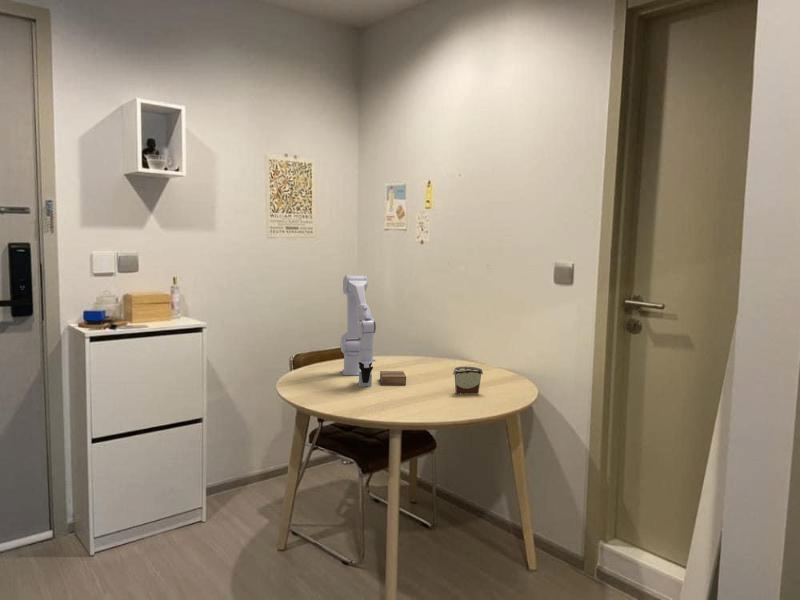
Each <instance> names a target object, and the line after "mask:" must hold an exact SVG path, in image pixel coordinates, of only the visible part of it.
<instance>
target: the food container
mask: <svg viewBox="0 0 800 600" xmlns="http://www.w3.org/2000/svg"><path fill="white" fill-rule="evenodd" d="M483 372H484V371H483V369H482V368H480V367H476V366H474V367H473V366H457V367H455V368H454V369H453V372H452V375H454V384H455V387H454V389H455V395H463V394H462V393H478V394H479V392H480V386H481V379H482V375H483V374H484V373H483ZM460 393H461V394H460Z"/></svg>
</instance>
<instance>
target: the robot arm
mask: <svg viewBox="0 0 800 600" xmlns="http://www.w3.org/2000/svg"><path fill="white" fill-rule="evenodd" d="M368 283H369V281H368V277H367V276H366V275H348V274H345V275H344V277H343V280H342V292H343V294H344V295H346V298H347V299H346V300H347V301H346V303H347V304H346V306H347V308H346V309H347V310H346V311H347V313H346V315H347V319H346V320H347V326H346V327H347V331H346V332H345V333H344V334H343V335H341V338H340V351H341V352H342V354H343V356H344V357H343V368H342V375H343V376H359V372H361V373H362V380H363V383H368V381H369V377H370V373H372V371H373V369H374V366H372V365H373V362H376V358H374V335H375V334H376V331H377V324H376V323H377V322H376V321H375V319H374V317H373V316H372V312H371V308H370V306H369V305H368V304H367V300H366V291H367V288H368V287H369V285H368Z"/></svg>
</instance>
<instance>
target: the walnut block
mask: <svg viewBox="0 0 800 600" xmlns="http://www.w3.org/2000/svg"><path fill="white" fill-rule="evenodd" d="M379 381H380V383H381V386H406V385H407V376H406V373H405V372H404V370H380V371H379Z"/></svg>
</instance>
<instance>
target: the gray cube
mask: <svg viewBox="0 0 800 600" xmlns="http://www.w3.org/2000/svg"><path fill="white" fill-rule="evenodd" d="M372 373H373V372H371V373H370V377H369V381H368V383H363V380H362V373H361V372H359V375H358V386H359V387H365V386H371V387H372V385H373V384H372V380H373V378H372V376H373V375H372Z"/></svg>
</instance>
